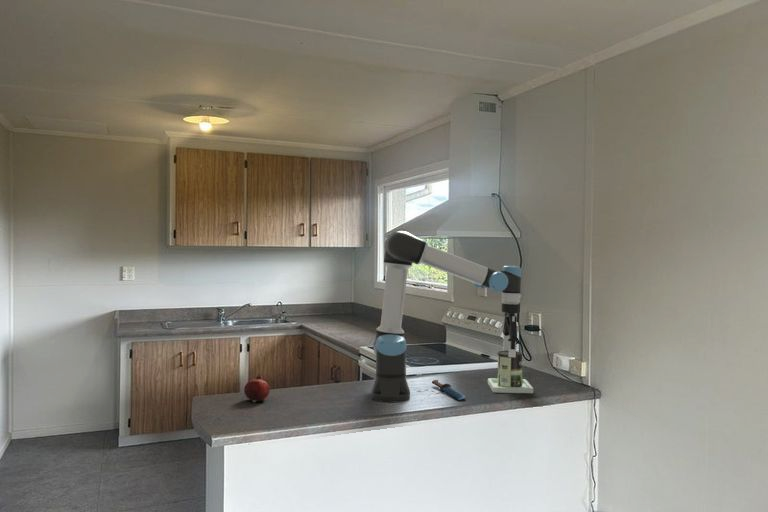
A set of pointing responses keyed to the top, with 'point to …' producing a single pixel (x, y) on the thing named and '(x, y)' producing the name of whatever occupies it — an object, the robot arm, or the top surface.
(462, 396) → the knife
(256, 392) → the fruit
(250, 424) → the top surface
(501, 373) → the coffee can
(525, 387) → the tray
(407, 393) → the robot arm
